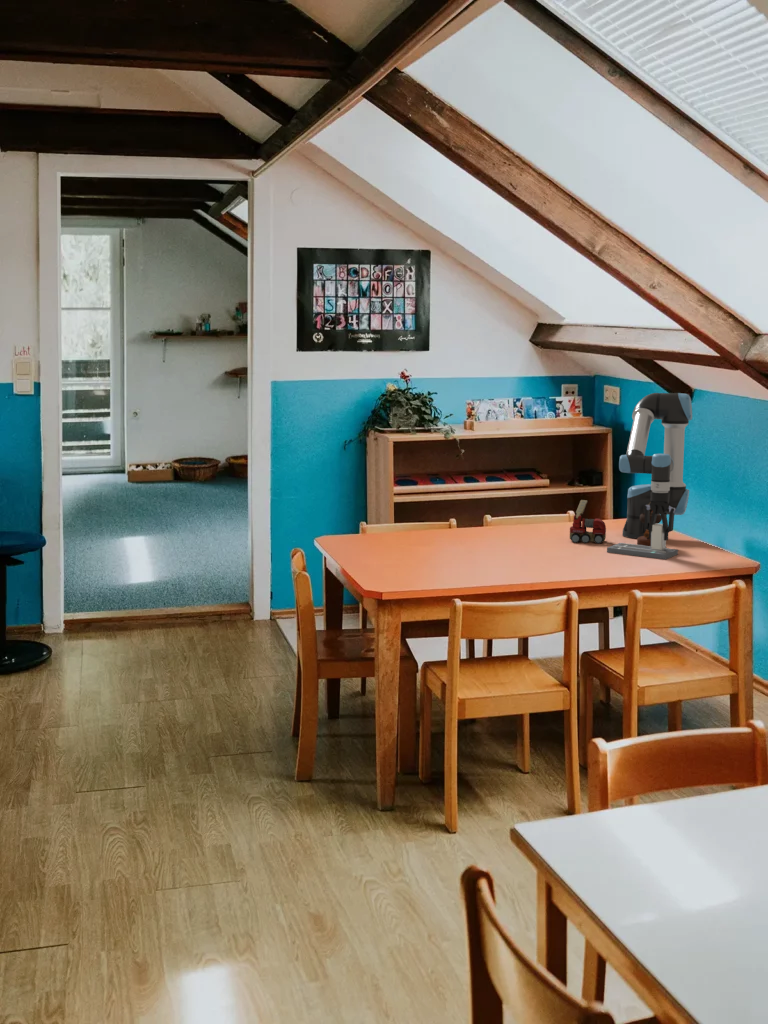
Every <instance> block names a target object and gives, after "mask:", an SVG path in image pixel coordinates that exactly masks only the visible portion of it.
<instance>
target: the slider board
mask: <svg viewBox="0 0 768 1024" xmlns="http://www.w3.org/2000/svg"><path fill="white" fill-rule="evenodd" d="M650 548H652V547H651V546H643V545H637V544H635V543H625V542H619V543H616V544H613V545H610V546H607V547H606V553H610V554H617V555H618V554H619V555H627V556H632V557H633V556H635V557H643V558H650V559H651V558H652V559H659V560H668V559H670V558H672V557H675V556H677V555H679V549H677V548H676V549H675V548H668V547H666V550H664V551H658V550H650Z"/></svg>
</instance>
